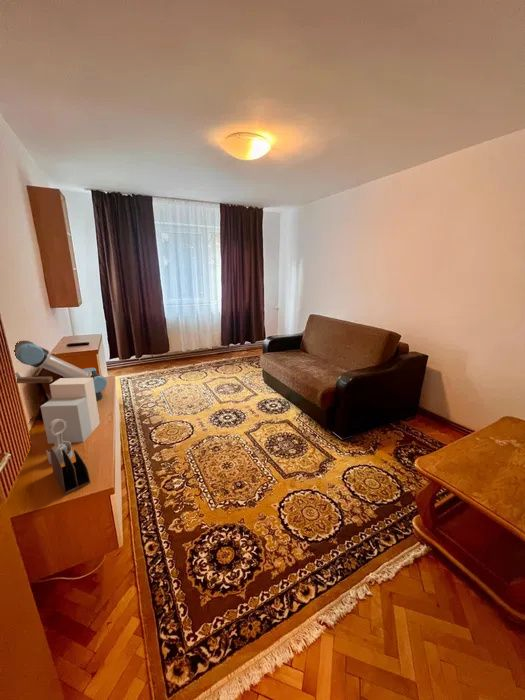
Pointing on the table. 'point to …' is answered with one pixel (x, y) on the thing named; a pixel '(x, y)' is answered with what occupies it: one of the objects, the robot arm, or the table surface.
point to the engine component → (59, 442)
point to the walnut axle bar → (34, 379)
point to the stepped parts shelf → (72, 409)
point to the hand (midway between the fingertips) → (17, 375)
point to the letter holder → (70, 472)
